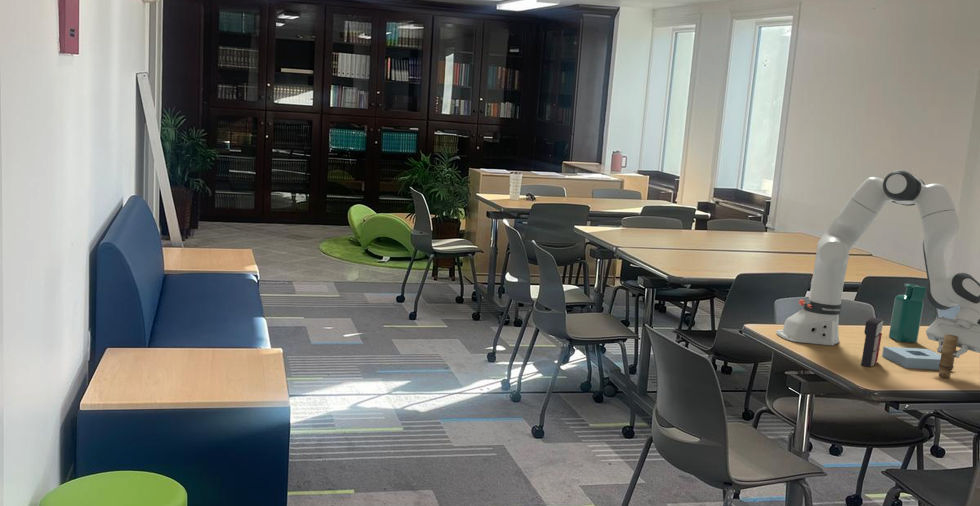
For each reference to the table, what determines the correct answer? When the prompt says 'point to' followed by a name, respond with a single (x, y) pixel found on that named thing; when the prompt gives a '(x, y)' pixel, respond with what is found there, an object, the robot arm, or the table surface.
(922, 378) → the table surface
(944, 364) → the peg
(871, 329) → the calculator
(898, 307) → the teal bottle
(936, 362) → the seat board
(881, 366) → the table surface
